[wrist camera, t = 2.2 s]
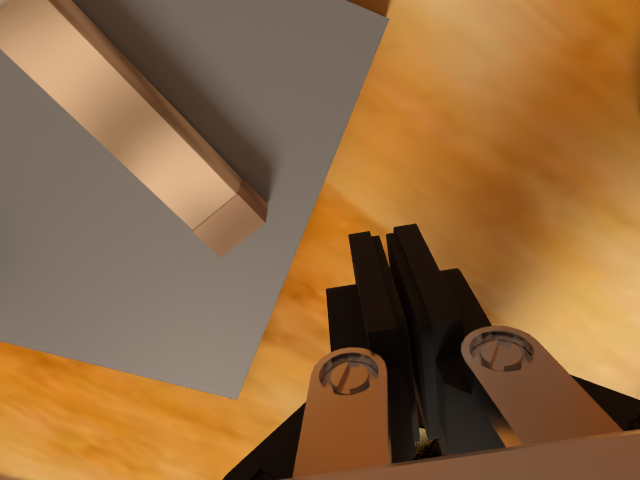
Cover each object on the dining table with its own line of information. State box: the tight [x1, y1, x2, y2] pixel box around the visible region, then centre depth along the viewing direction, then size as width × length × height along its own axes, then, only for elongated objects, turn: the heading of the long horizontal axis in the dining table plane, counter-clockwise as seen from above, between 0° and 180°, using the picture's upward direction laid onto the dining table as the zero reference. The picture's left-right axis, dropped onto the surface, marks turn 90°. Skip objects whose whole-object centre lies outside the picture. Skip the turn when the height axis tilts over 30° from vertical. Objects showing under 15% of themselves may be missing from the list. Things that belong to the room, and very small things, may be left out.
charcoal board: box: [0, 0, 389, 400], centre depth 26 cm, size 25×21×1 cm
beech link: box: [0, 0, 269, 258], centre depth 22 cm, size 18×4×2 cm, turn 39°
